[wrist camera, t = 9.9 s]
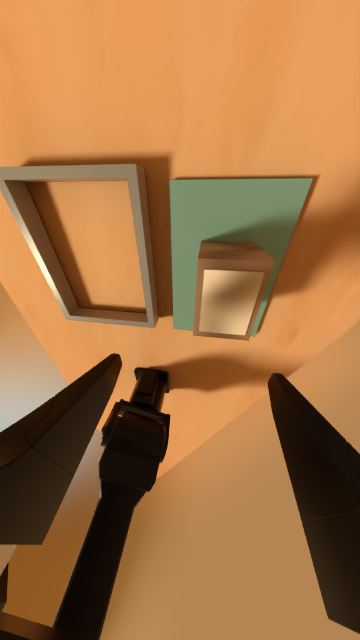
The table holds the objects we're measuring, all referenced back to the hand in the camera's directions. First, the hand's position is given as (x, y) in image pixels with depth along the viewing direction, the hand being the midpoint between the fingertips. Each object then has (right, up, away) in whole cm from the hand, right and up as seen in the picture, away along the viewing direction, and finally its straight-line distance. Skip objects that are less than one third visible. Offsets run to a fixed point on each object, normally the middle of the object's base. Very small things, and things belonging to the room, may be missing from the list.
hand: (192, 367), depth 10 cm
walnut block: (+4, +7, +8) cm, 12 cm away
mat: (+4, +8, +8) cm, 12 cm away
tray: (-10, +10, +9) cm, 17 cm away
